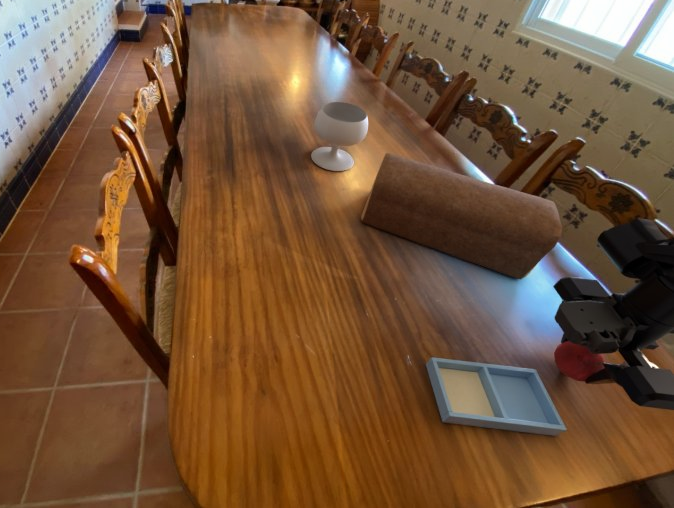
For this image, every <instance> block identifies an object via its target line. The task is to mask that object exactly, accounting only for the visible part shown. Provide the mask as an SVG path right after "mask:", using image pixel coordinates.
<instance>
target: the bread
mask: <svg viewBox="0 0 674 508" xmlns="http://www.w3.org/2000/svg"><path fill="white" fill-rule="evenodd" d="M379 165H380V166H379V168H378V170H377V173H376V176H375V178H374V181H373V184H372V186H371V189H370V191H369V195H368V196H367V200H366V201H365V205H364V207H363V210H362V213H361V216H360V219H361V222H362V224H363V223H364V224H366V225H368V226H371V227H374V228H376V229H379V230H381V231H384V232H387V233H390V234H393V235H396V236H397V237H401V238H404V239H406V240H409V241H412V242H415V243H417V244H419V245H422V246H424V247H429V248H431V249H433V250H436V251H440V252H442V253H445V254H447V255H450V256H453V257H455V258H458V259H461V260H463V261H466V262H469V263H473V264H474V265H475V264H476V265H478V266H482V267H484V268H487V269H489V270H493V271H495V272H497V273H500V274H504V275H506V276H509V277H512V278H514V279H518V280H523V279H524V278H526V277H527V276H529V275H530V274H531V273H532V271H533V270H534V269H535V268H536V266H537V265H538V263H540V262H541V261H542V259H544V257H546V256H547V255H548V254H549V253H550V252H551V251H552V250H553V249H554V248H556V246H557V244H558V242H559V241H560V239H562V232H563V226H562V222H561V218H560V213H559V210H558V207H557V205H556V203H555V201H552V200H550V199H547V198H543V197H540V196H537V195H533V194H531V193H530V194H529V193H527V192H522V191H520V190H516V189H513V188H509V187H505V186H501V185H498V184H494V183H490V182H488V181H483V180H481V179H477V178H474V177H471V176H468V175H465V174H461V173H456V172H453V171H451V170H447V169H444V168H441V167H439V166H434V165H432V164H431V165H430V164H427V163H424V162H421V161H417V160H415V159H411V158H408V157H405V156H402V155H397V154H393V153H391V152H390V153H389V152H386V153H385V154H384V156H383V158H382V161H381V163H380V164H379Z"/></svg>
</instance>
